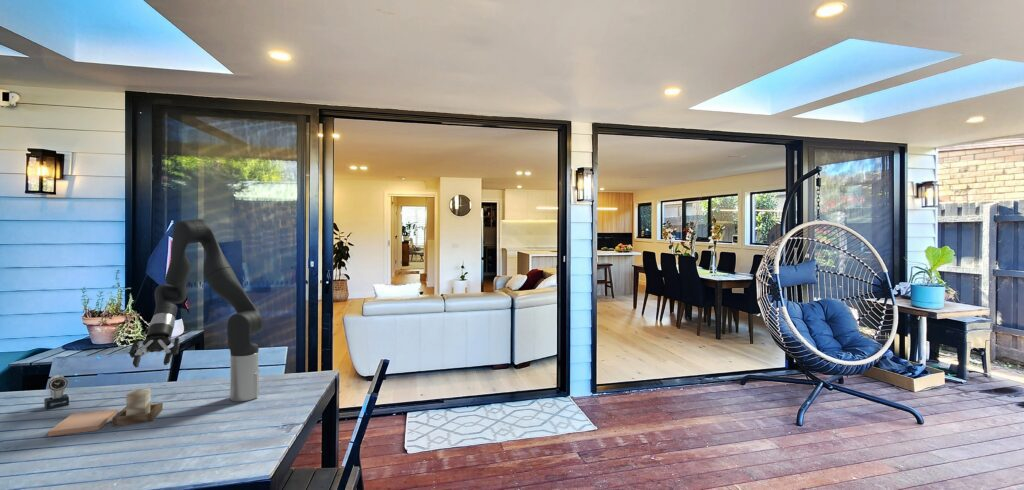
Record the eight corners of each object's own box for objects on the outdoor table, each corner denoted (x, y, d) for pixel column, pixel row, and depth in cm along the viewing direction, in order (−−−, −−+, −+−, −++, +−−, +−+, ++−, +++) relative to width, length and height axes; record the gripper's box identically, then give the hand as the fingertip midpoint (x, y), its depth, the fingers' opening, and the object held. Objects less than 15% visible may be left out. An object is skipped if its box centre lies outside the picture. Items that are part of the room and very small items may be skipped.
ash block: (150, 413, 151) (150, 388, 151) (145, 419, 147) (145, 393, 147) (132, 415, 149) (132, 390, 149) (126, 421, 145) (126, 395, 145)
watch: (47, 411, 151) (47, 380, 151) (43, 406, 156) (43, 375, 156) (70, 406, 156) (70, 376, 156) (65, 401, 161) (65, 371, 160)
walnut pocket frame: (162, 409, 155) (162, 402, 155) (152, 421, 145) (152, 413, 145) (125, 413, 151) (125, 406, 151) (112, 426, 141) (112, 418, 141)
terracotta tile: (117, 413, 151) (117, 408, 151) (98, 429, 138) (98, 425, 138) (71, 418, 146) (71, 414, 146) (48, 436, 134) (48, 431, 134)
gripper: (135, 323, 163) (122, 362, 153) (181, 321, 169) (172, 358, 159) (140, 334, 168) (128, 372, 158) (185, 331, 174) (176, 368, 164)
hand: (150, 365), depth 158 cm, fingers open, 8 cm apart
